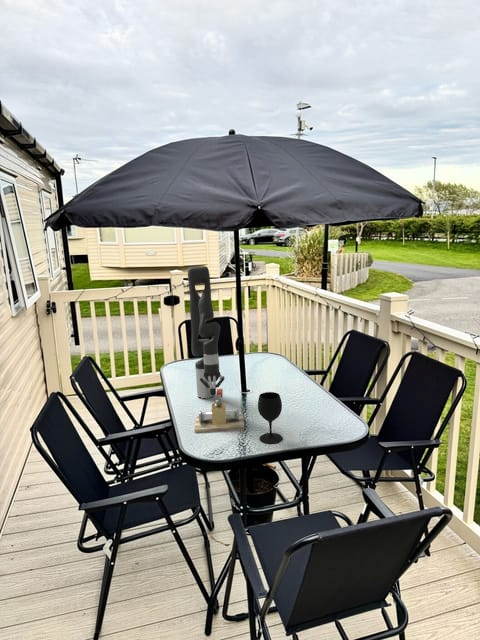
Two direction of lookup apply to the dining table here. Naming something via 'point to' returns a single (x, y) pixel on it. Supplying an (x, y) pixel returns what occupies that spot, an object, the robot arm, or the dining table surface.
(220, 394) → the lever
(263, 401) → the wine glass
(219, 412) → the valve
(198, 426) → the mounting board
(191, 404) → the dining table surface
